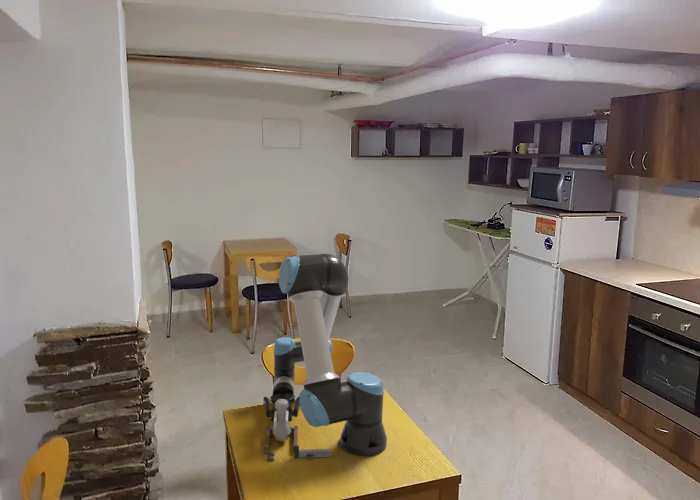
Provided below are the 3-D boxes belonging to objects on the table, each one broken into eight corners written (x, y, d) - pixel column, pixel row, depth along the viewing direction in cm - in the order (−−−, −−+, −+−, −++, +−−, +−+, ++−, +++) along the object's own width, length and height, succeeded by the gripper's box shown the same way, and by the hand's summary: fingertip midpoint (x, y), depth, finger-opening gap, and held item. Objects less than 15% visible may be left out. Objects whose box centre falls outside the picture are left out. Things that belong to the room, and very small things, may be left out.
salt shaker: (287, 443, 174) (287, 406, 171) (270, 441, 175) (270, 404, 172) (292, 434, 180) (292, 397, 177) (276, 432, 181) (275, 395, 178)
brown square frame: (312, 432, 183) (312, 425, 183) (312, 459, 168) (313, 452, 167) (266, 433, 182) (266, 426, 182) (263, 461, 167) (263, 453, 166)
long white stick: (330, 454, 171) (331, 444, 170) (331, 456, 169) (331, 446, 169) (294, 455, 170) (294, 445, 169) (294, 457, 168) (294, 447, 168)
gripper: (306, 400, 195) (306, 435, 172) (260, 401, 193) (255, 436, 170) (306, 381, 193) (306, 413, 170) (260, 381, 192) (254, 414, 169)
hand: (280, 424), depth 170 cm, fingers closed on salt shaker, 3 cm apart
